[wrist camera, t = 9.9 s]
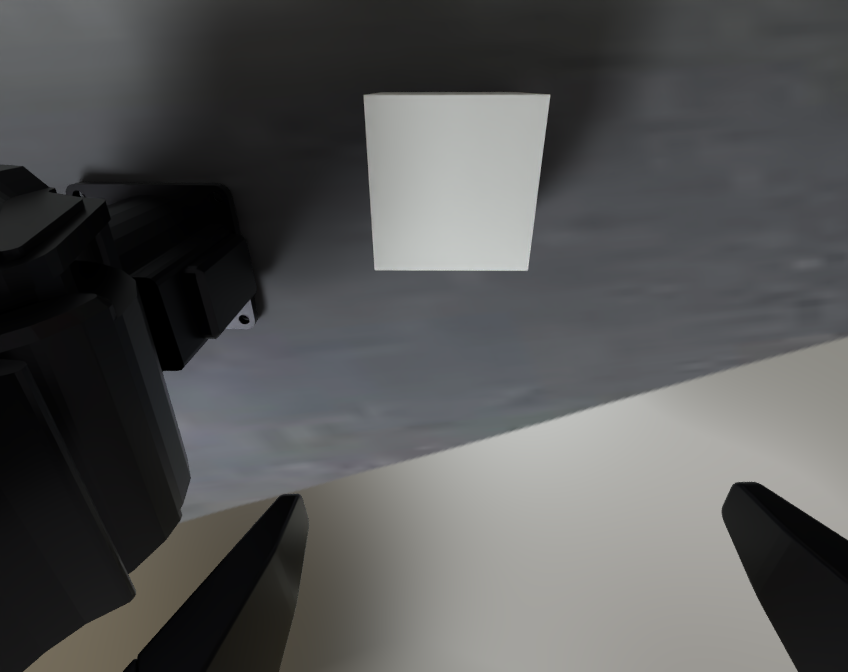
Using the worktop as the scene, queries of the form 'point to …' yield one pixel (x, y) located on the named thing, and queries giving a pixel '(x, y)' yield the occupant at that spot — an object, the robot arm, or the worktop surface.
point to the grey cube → (454, 178)
